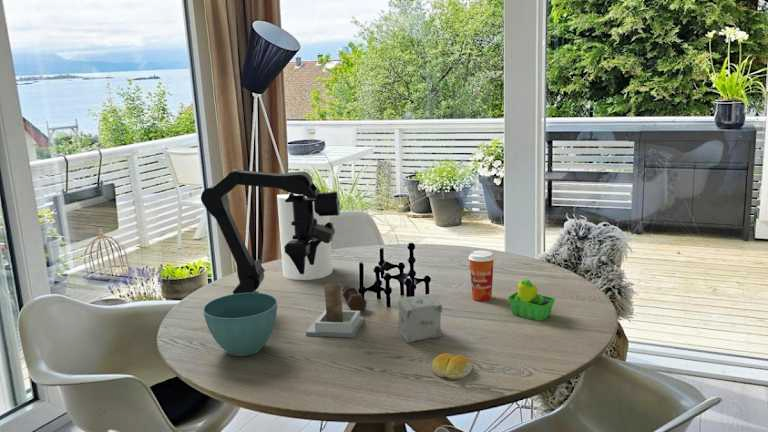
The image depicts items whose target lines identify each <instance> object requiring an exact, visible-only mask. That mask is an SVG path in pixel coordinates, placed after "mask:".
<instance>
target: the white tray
mask: <svg viewBox="0 0 768 432" xmlns="http://www.w3.org/2000/svg"><path fill="white" fill-rule="evenodd" d="M342 312H343V322H327V316H326V309H324V311H323V312H322V313H321V314H320V315H319V316H318V317H317V318H316V319H315V320H314V321H313V323H312V324H311V325H310V326H309V327H308V329H307V330H306V332H305V336H309V337H311V336H312V337H334V338H335V337H337V338H354V337H355V336H356V334H357V332H358V331H359V329H360V327H361V326H362V324H363V323H364V321H365V318H364V316H363V317H361V311H351V309H349V310H347V309H346V310H344V309H342Z"/></svg>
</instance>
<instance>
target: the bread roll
mask: <svg viewBox="0 0 768 432" xmlns="http://www.w3.org/2000/svg"><path fill="white" fill-rule="evenodd" d="M431 368H432V371H433V373H434V375H436V376H438V377H441V378H448V379H454V380H458V379H462V378H465V377H467V376H468V375H470V373H471V372H472V370H473V364H472V362H471V361H470V360H469V358H467V357H466V356H464V355H460V354H458V355H454V354H451V353H450V352H449V353H448V352H447V353H441V354H438V356H436V357H435V358H434V359H433V360H432V362H431Z"/></svg>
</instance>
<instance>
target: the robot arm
mask: <svg viewBox="0 0 768 432" xmlns="http://www.w3.org/2000/svg"><path fill="white" fill-rule="evenodd" d="M238 185H239V186H249V187H250V186H251V187H259V188H260V187H262V188H272V189H278V190H281V191H284V192H287V193H289V194H290V195H289V197H288V198H287V199H286V200H285V202H292V204H293V218H294V221H292V225H294V231H295V235H293V239H296V240H291V241H290V242H288V243H287V244H286V245H285V246H284V248H285V253H287V255H289V256H290V258H291V259H292V261H293V263H294V264H295V266H296V268H297V269H298V271H299V273H300V274H304V271H305V258H306V256H307V258H308V261H309V263H310V265H314V262H315V256H316V251H317V247H318V245H319V244H320V243H321V242H322V241H323V242H324V243H330V241H331V242H332V241H333V239H334V238H333V237H334V235H335V234H336V231H335V230H336V229H335V228H334V223H333V222H330V221H329V222H328V223H326V224H325V225H324V226H323V224H322V225H320V224H317V220H316V218H314V214H313V201H314V208H315V213H317V214H319V216H329V217H332V216H333V217H334V216H337V217H338V216H340V212H341V211H340V209H341V207H340V205H341V203H340V199H339V196H338V195H339V194H338V191H337V190H336V191H335V190H334V191H330V192H329V191H328V192H326V191H325V192H321V191H320V189H319V188H318V187H317V186H316V185H315V184H314V182H313V178H312V176H311V174H310V173H308V172H307V171H303V170H302V171H294V172H293V171H291V172H285V173H274V172H273V173H272V172H263V171H254V170H253V171H252V170H241V169H238V168H237V169H236V168H235V169H233V170H231V171H230V172H228V174H227V175H226V176H225V177H224V178H223V179H221V180H220V181H219V182H218V183H216V184H212V185H210V186H209V187H207V188H206V189H204V190H203V191H202V193H201V195H200V202H201V203H202V204H203V206H204V208H205V210H206V211H207V212H208V213H209V214H210V215H211V216H212V217H213V218H214V219H215V220H216V222H217V224H218V226H219V229H220V231H221V233H222V235H223V238H224V239H225V242H226V244H227V247H228V248H229V250H230V253H231V255H232V257H233V258H234V262H235V263H236V273H237V278H238V282H239V283H238V284H237V286H236V287H235V288H234V290H233V291H232V294H238V293H260V292H259V291H257V290H258V289H259V288H260V286H261V284H262V283H263V281H264V278H265V271H266V270H265V269H264V267H263V266H262V262H261V259H260V258H258V259H256V260H255V258H253V257H252V256H251V254H250V252H249V250H248V247H247V246H246V243H245V242H244V239H243V237H242V234H241V232H240V230H239V228H238V226H237V224H236V221H235V219H234V217H233V215H232V213H231V206H230V205H231V204H230V199H229V195H228V194H229V193H230V192H231V191H232V190H233V189H235V188H236V186H238ZM294 194H297V195H294ZM305 196H306V197H307V198H306V197H305Z"/></svg>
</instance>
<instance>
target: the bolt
mask: <svg viewBox="0 0 768 432" xmlns="http://www.w3.org/2000/svg"><path fill="white" fill-rule="evenodd" d="M341 296H342V297H343V298H344V300H345V301H346V305H347V307H348V308H349V310H350V311H360V312H363V311H364V310H365V308H366V306H367V300H366V299H365V297H364V296H363V295H362V293H359V292H358V290H357V288H356V287H355V286H353V285H346V286H344V287H343V288H342V293H341Z"/></svg>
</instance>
